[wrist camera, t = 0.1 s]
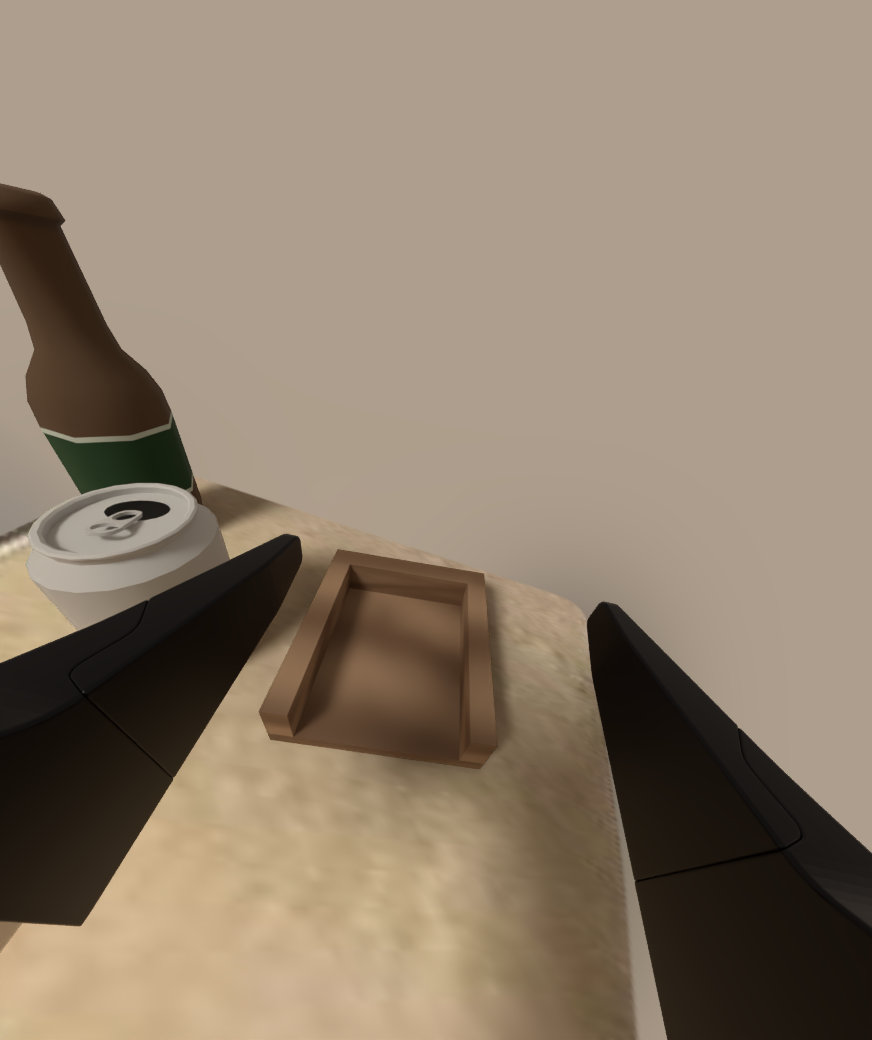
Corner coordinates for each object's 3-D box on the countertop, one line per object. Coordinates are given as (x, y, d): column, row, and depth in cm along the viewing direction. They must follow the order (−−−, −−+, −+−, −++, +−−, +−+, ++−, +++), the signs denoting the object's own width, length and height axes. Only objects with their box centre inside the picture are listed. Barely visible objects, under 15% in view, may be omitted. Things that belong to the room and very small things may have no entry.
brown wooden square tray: (479, 769, 19) (497, 746, 17) (270, 739, 19) (258, 711, 16) (473, 602, 30) (484, 573, 28) (338, 580, 29) (337, 549, 27)
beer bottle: (186, 553, 29) (28, 187, 15) (86, 550, 27) (-197, 139, 13) (221, 505, 35) (133, 214, 21) (141, 501, 34) (-13, 183, 19)
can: (265, 603, 26) (233, 479, 19) (226, 696, 20) (159, 569, 13) (164, 600, 25) (89, 467, 18) (91, 700, 19) (-63, 561, 12)
